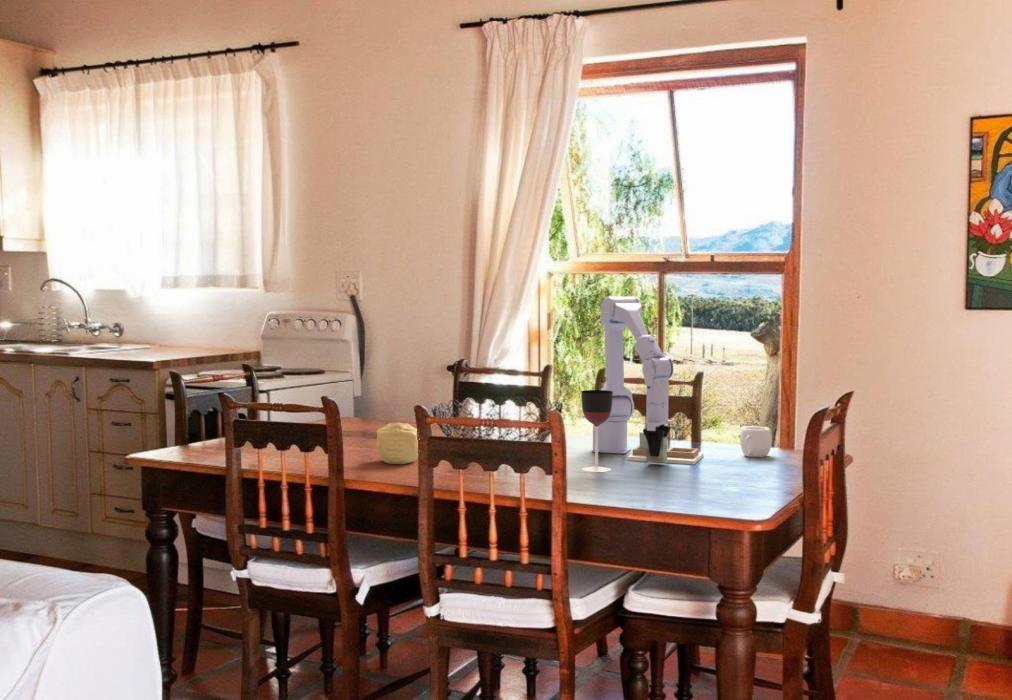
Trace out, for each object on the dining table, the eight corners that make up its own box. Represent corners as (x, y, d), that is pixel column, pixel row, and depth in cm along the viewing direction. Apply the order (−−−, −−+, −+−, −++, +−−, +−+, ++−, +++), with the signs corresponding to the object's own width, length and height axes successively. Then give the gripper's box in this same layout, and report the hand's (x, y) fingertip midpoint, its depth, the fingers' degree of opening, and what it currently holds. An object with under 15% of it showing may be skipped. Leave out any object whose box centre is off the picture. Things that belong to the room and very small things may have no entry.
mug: (746, 452, 294) (747, 424, 293) (775, 455, 289) (776, 427, 289) (730, 458, 284) (730, 429, 283) (760, 461, 279) (760, 432, 279)
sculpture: (373, 466, 271) (373, 425, 271) (379, 458, 283) (379, 419, 283) (417, 466, 271) (417, 425, 270) (422, 458, 283) (421, 419, 282)
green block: (646, 460, 272) (646, 438, 272) (650, 458, 277) (650, 435, 276) (663, 462, 271) (663, 439, 270) (666, 459, 275) (667, 436, 275)
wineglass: (585, 472, 262) (585, 393, 261) (577, 466, 271) (577, 390, 270) (615, 472, 264) (616, 393, 262) (607, 465, 272) (607, 389, 271)
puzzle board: (627, 460, 281) (627, 434, 280) (639, 452, 294) (639, 427, 293) (693, 464, 274) (694, 438, 274) (703, 456, 287) (703, 431, 287)
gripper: (666, 407, 265) (665, 460, 265) (678, 400, 278) (677, 451, 279) (639, 405, 267) (638, 458, 268) (652, 399, 281) (651, 449, 281)
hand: (656, 454), depth 274 cm, fingers closed on green block, 4 cm apart
